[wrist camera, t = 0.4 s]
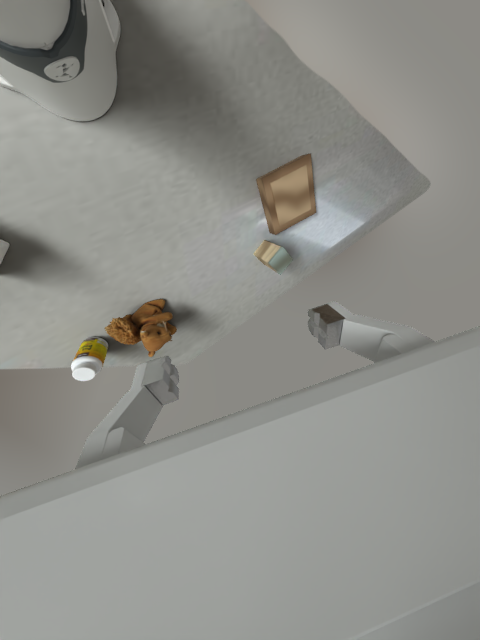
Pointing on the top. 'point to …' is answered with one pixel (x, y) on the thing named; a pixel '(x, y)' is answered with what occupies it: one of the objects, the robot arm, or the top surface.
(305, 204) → the base slab
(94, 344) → the supplement bottle
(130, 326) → the stuffed squirrel
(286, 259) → the tan tall block
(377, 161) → the top surface
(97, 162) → the top surface
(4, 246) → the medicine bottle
